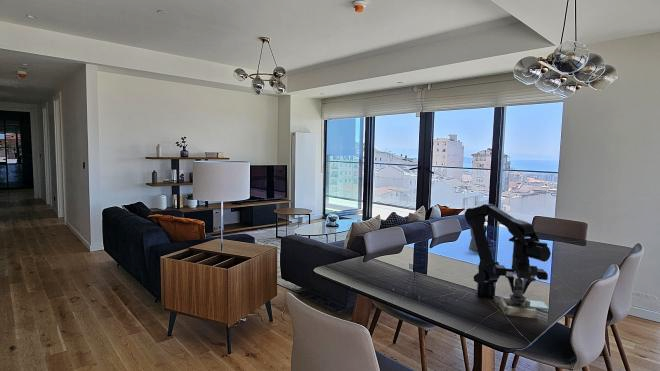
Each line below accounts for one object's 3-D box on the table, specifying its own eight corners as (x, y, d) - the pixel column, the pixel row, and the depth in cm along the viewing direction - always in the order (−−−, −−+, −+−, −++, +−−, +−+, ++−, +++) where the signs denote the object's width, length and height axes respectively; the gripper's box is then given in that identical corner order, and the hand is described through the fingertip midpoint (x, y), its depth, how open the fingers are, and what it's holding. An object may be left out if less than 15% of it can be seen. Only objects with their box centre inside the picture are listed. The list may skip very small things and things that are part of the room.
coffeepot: (475, 252, 240) (476, 224, 238) (463, 248, 248) (465, 221, 247) (491, 249, 247) (493, 223, 245) (479, 246, 255) (481, 220, 254)
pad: (529, 307, 152) (529, 306, 152) (525, 301, 159) (525, 299, 159) (548, 309, 150) (548, 308, 150) (543, 303, 157) (543, 301, 157)
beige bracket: (504, 314, 144) (504, 306, 144) (498, 303, 155) (498, 296, 155) (536, 318, 142) (537, 310, 141) (528, 306, 153) (528, 299, 152)
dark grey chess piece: (520, 302, 151) (522, 273, 150) (528, 308, 145) (530, 278, 144) (506, 302, 151) (508, 273, 150) (513, 308, 145) (515, 278, 144)
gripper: (499, 257, 141) (496, 297, 142) (554, 262, 137) (550, 303, 138) (493, 250, 152) (491, 287, 153) (544, 254, 147) (541, 293, 149)
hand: (517, 293), depth 148 cm, fingers closed on dark grey chess piece, 3 cm apart
